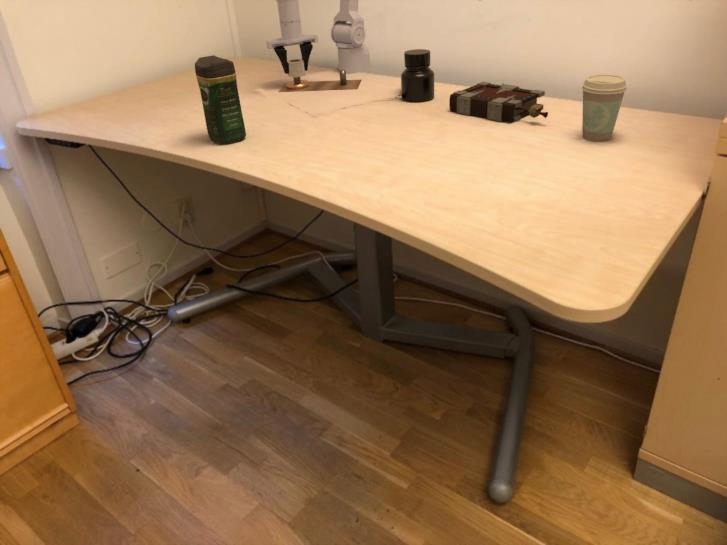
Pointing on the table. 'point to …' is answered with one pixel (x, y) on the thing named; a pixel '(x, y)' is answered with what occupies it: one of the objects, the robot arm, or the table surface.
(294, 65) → the steel collar
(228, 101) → the coffee jar
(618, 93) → the coffee cup
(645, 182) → the table surface
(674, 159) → the table surface
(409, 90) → the ink bottle
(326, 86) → the walnut board
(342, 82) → the stand rod
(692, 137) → the table surface
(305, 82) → the hub
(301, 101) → the table surface
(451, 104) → the book
